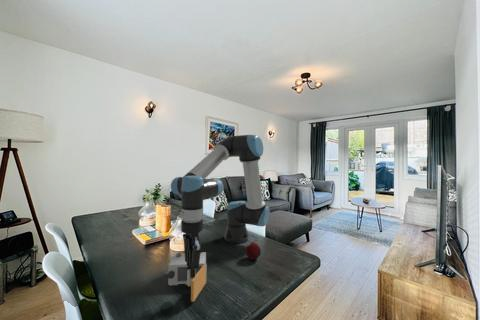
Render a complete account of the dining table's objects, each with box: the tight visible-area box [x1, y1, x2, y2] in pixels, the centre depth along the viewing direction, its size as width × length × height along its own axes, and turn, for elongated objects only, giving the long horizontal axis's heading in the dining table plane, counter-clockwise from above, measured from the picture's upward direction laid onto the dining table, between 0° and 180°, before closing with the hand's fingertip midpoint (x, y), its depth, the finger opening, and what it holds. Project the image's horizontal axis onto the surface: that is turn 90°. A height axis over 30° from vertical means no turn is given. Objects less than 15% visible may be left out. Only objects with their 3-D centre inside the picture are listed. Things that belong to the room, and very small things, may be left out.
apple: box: [244, 241, 262, 261], centre depth 103 cm, size 7×8×8 cm
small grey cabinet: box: [167, 251, 207, 286], centre depth 86 cm, size 14×11×9 cm
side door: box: [190, 263, 208, 303], centre depth 76 cm, size 12×1×7 cm, turn 168°
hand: (191, 284), depth 74 cm, fingers closed
